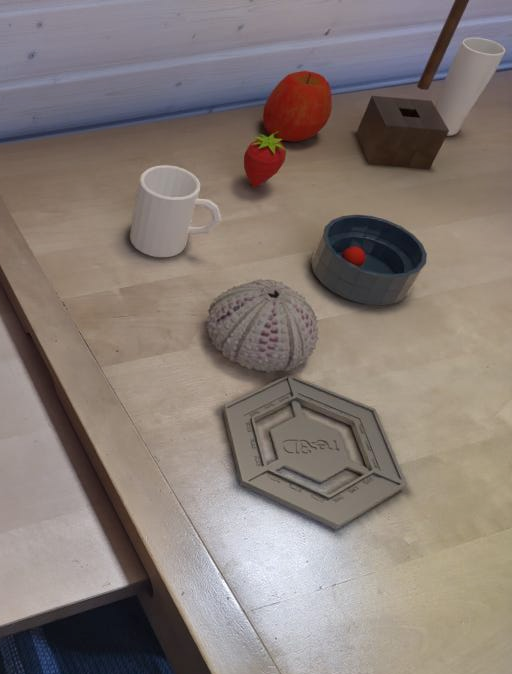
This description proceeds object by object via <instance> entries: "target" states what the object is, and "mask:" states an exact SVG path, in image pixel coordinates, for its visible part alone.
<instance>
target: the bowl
mask: <svg viewBox="0 0 512 674" xmlns="http://www.w3.org/2000/svg"><path fill="white" fill-rule="evenodd" d="M350 247H359V248H361V249H362V250H363V251H364V253H365V261H364V263H363V264H362V265H361V266H360V267H358V266H356V265H354V264H352V263H349V262H348V261H346V260H345V259H344V258H342V254H343V252H344V251H345V250H346V249H347V248H350ZM427 256H428V253H427V251H426V249H425V246H424V245H423V243H422V242H421V241H420V239H419V238H417V237H416V235H415V234H414V233H412V232H410V231H409V230H407V229H406V228H404V227H403V226H401V225H399V224H397V223H394V222H392V221H390V220H388V219H385V218H382V217H377V216H373V215H366V214H365V215H364V214H347V215H342V216H338V217H336V218H334V219H331V220H330V221H329V222H328V223H327V224H326V225H325V226H324V228H323V231H322V233H321V236H320V237H319V240H318V243H317V245H316V247H315V249H314V252H313V255H312V258H311V263H310V265H311V268H312V271H313V274H314V275H315V277H316V278H317V279H318V281H319V282H320V284H322V285H323V286H324V287H325V288H327V289H328V290H329V291H331V292H332V293H334V294H336V295H338V296H340V297H342V298H344V299H346V300H348V301H351V302H355V303H358V304H362V305H371V306H385V305H386V306H387V305H392V304H395V303H399V302H400V301H402V300H404V299H405V298H406V297H407V296H408V294H410V292H411V290H412V289H413V287H414V285H415V284H416V281H418V279H419V276H420V275H421V273H422V271H423V269H424V268H425V267H426V264H427V258H428V257H427Z"/></svg>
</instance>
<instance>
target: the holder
mask: <svg viewBox="0 0 512 674" xmlns="http://www.w3.org/2000/svg"><path fill="white" fill-rule="evenodd" d="M433 102H434V101H432V100H428V99H418V98H417V99H416V98H403V97H393V96H381V95H371V96H370V99H369V101H368V103H367V105H366V109H365V111H364V114H363V116H362V118H361V121H360V123H359V126H358V127H357V130H356V133H355V134H356V136H357V138H358V141H359V144H360V146H361V149H362V150H363V153H364V155H365V158H366V160H367V163H368V164H369V165H379V166H388V167H389V166H392V167H400V168H401V167H403V168H411V169H423V170H425V169H426V170H430V169H431V167H432V165H433V163H434V161H435V159H436V158H437V156H438V153H439V152H440V150H441V148H442V146H443V144H444V142H445V140H446V138H447V137H448V136H447V134H448V132H449V129H448V128H447V126H446V124H445V123H444V121H443V119H442V118H441V116H440V114H439V113H438V111H437V109H436V107H435V104H434V103H433Z"/></svg>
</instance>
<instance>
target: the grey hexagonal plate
mask: <svg viewBox="0 0 512 674" xmlns="http://www.w3.org/2000/svg"><path fill="white" fill-rule="evenodd" d="M289 405H291V410H292V413H293V415H294V417H292V418H290V419H288V420H287V421H285V422H283V423H280V424H279V425H277V426H275V427H273V428H270V430H269V434H270V437H271V440H272V444H273V448H274V451H275V454H276V460H274V461H272V462H270V463H268V464H267V462H266V457H265V454H264V450H263V447H262V442H261V440H260V435H259V431H258V429H257V425H256V422H257V421H259V420H261V419H263V418H266V417H267V416H269V415H271V414H273V413H275V412H277V411H278V410H281V409H283V408H285V407H287V406H289ZM302 406H303V407H305V408H308V409H310V410H312V411H315V412H318V413H319V414H322V415H325V416H327V417H329V418H332V419H333V420H336V421H339V422H341V423H344V424H346V425H349V426H350V427H351V430H352V433H353V436H354V437H355V440H356V443H357V445H358V448H359V451H360V453H361V455H362V458H363V462H364V463H365V466H364V465H361V464H359V463H356V462H354V461H352V460H350V458H349V455H348V452H347V450H346V447H345V445H344V441H343V439H342V436H341V433H340V431H339V430H337V429H335V428H332V427H331V426H327V425H325V424H323V423H321V422H318V421H315V420H314V419H311V418H308V417H307V416H305V415H304V412H303V408H302ZM222 413H223V417H224V422H225V426H226V430H227V434H228V439H229V444H230V448H231V452H232V456H233V461H234V464H235V469H236V472H237V477H238V482H239V485H240V486H241V487H244V488H245V489H248V490H250V491H251V492H254V493H256V494H258V495H260V496H262V497H265V498H267V499H269V500H272V501H274V502H276V503H278V504H280V505H282V506H284V507H286V508H288V509H291V510H293V511H295V512H297V513H299V514H302V515H304V516H305V517H308V518H310V519H312V520H314V521H317V522H319V523H321V524H323V525H325V526H327V527H330V528H332V529H333V530H338V529H340V528H342V527H343V526H344V525H346V524H348V523H349V522H351V521H353V520H354V519H356V518H357V517H359V516H361V515H362V514H364V513H366V512H367V511H369V510H371V509H372V508H374V507H376V506H377V505H379V504H381V503H382V502H384V501H386V500H387V499H389V498H390V497H392V496H394V495H395V494H397V493H399V492H400V491H402V490H403V489H405V487H406V486H407V484H408V483H407V481H406V479H405V476H404V474H403V471H402V469H401V467H400V464H399V462H398V460H397V457H396V455H395V452H394V450H393V448H392V445H391V443H390V440H389V438H388V436H387V433H386V431H385V429H384V426H383V424H382V422H381V419H380V417H379V415H378V412H377V410H376V408H373V407H371V406H368V405H366V404H364V403H361V402H359V401H357V400H354V399H351V398H350V397H347V396H344V395H342V394H339V393H337V392H334V391H332V390H329V389H327V388H324V387H322V386H319V385H317V384H314V383H312V382H310V381H307V380H304V379H302V378H299V377H297V376H295V375H292V374H290V373H289V374H287V375H285V376H283V377H281V378H279V379H277V380H275V381H272V382H269V383H267V384H266V385H264V386H262V387H260V388H258V389H256V390H253V391H251V392H249V393H247V394H244V395H243V396H241V397H239V398H237V399H235V400H232V401H231V402H229V403H226V404H224V406H223V408H222ZM282 468H286V469H289V470H291V471H293V472H294V473H296V474H299V475H302V476H304V477H306V478H308V479H311V480H313V481H314V482H317V483H319V484H321V483H323V482H325V481H326V480H327V481H328V479H330V478H332V477H334V476H335V475H337V474H339V473H341V472H343V471H344V470H346V469H348V470H350V471H352V472H354V473H357V474H359V475H360V476H359V477H357V478H355V479H354V480H352V481H351V482H349V483H347V484H345V485H344V486H342V487H339V488H338V489H336V490H335V491H333V492H331V493H330V494H327V493H325V492H323V491H321V490H319V489H317V488H314V487H312V486H310V485H308V484H305V483H303V482H301V481H299V480H297V479H295V478H292V477H290V476H288V475H286V474H283V473H281V472H279V470H281V469H282Z"/></svg>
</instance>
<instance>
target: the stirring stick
mask: <svg viewBox="0 0 512 674" xmlns="http://www.w3.org/2000/svg"><path fill="white" fill-rule="evenodd" d="M469 2H470V0H454V2H453V4H452V6H451V9H450V11H449V13H448V14H447V17H446V19H445V21H444V24H443V26H442V29H441V31H440V33H439V35H438V37H437V40H436V42H435V44H434V46H433V48H432V51H431V53H430V55H429V58H428V60H427V62H426V64H425V67H424V69H423V71H422V74H421V76H420V78H419V80H418V82H417V85H416V87H417V88H418V89H420V90H423V91H427V90H428V91H429V89H430V87H431V85H432V83H433V80H434V78H435V77H436V74H437V72H438V70H439V68H440V66H441V64H442V61H443V59H444V57H445V54H446V52H447V50H448V48H449V46H450V43H451V42H452V39H453V37H454V35H455V32H456V30H457V28H458V25H459V24H460V22H461V19H462V17H463V15H464V13H465V11H466V9H467V6H468V3H469Z"/></svg>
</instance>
